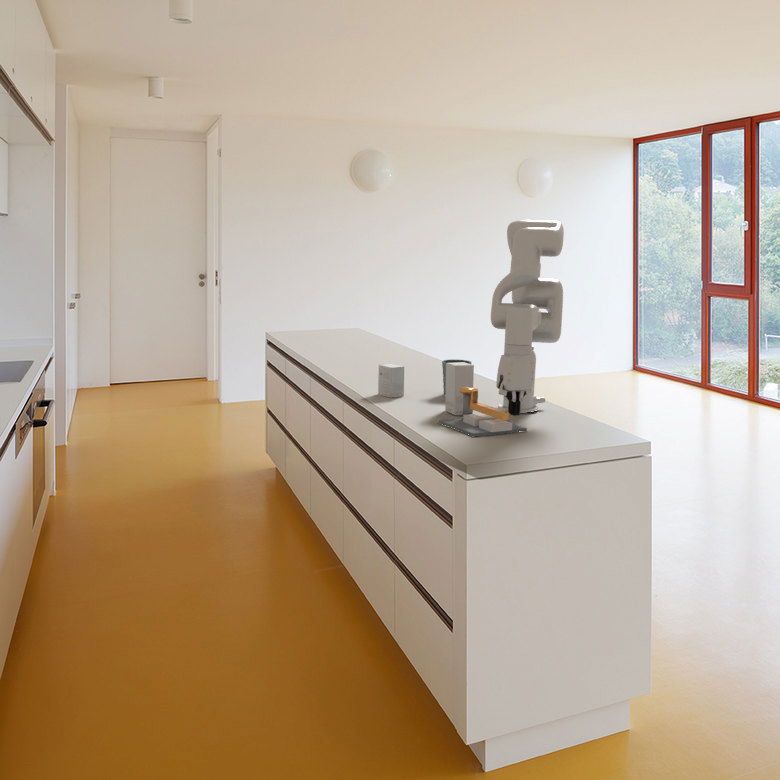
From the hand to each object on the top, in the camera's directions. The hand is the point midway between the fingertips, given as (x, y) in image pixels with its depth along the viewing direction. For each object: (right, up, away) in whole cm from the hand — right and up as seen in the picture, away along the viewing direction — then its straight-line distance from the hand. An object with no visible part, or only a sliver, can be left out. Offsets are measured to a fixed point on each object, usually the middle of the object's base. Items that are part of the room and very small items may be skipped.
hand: (513, 414), depth 220 cm
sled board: (-9, -4, +2) cm, 10 cm away
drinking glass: (-12, +5, +52) cm, 54 cm away
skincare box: (-14, 0, +22) cm, 26 cm away
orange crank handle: (-8, +1, +1) cm, 9 cm away
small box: (-35, +5, +48) cm, 59 cm away
